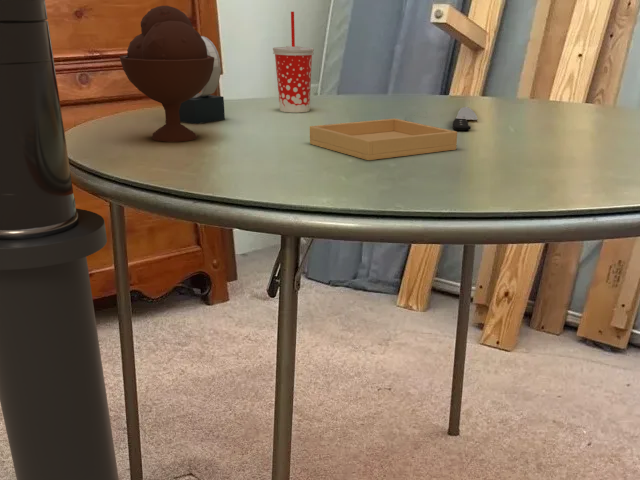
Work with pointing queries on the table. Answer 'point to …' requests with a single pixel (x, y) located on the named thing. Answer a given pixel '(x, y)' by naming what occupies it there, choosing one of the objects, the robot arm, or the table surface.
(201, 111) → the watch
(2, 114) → the robot arm
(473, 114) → the kitchen knife
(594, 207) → the table surface
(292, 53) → the beverage cup
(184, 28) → the ice cream bowl
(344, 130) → the tray
